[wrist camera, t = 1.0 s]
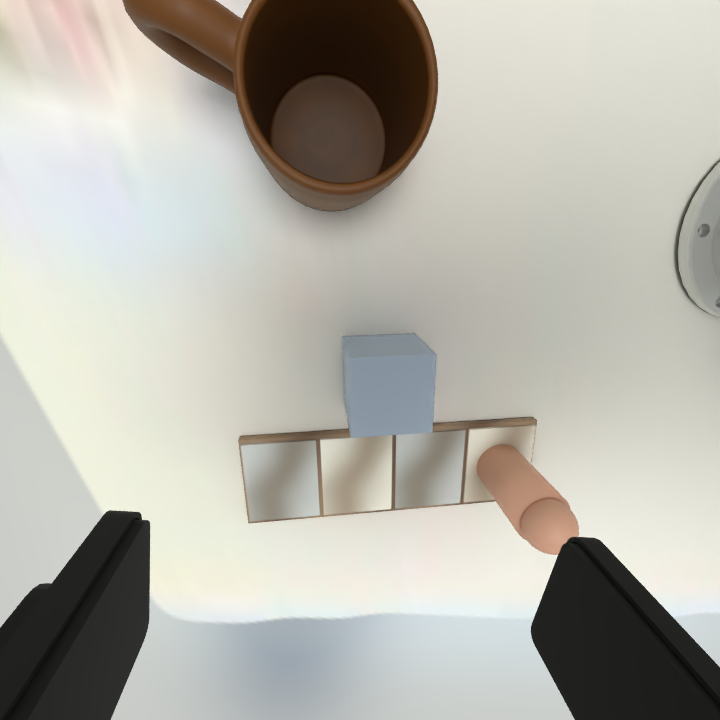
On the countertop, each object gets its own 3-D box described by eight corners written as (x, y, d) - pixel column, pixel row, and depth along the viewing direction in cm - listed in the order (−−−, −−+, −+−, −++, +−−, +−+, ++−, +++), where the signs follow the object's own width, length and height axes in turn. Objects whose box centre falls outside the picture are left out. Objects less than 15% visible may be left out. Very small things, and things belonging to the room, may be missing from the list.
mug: (167, 145, 22) (65, 81, 13) (207, -6, 20) (121, -204, 11) (363, 233, 24) (391, 231, 15) (413, 107, 22) (480, 21, 14)
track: (532, 416, 30) (538, 421, 29) (522, 493, 32) (527, 500, 31) (240, 436, 27) (237, 442, 27) (249, 517, 30) (248, 525, 29)
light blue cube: (414, 333, 27) (436, 354, 22) (412, 399, 28) (432, 432, 24) (342, 335, 26) (349, 358, 21) (344, 403, 28) (350, 437, 23)
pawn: (523, 442, 29) (599, 515, 22) (518, 483, 30) (589, 566, 23) (478, 446, 29) (539, 521, 21) (474, 486, 30) (531, 573, 22)
